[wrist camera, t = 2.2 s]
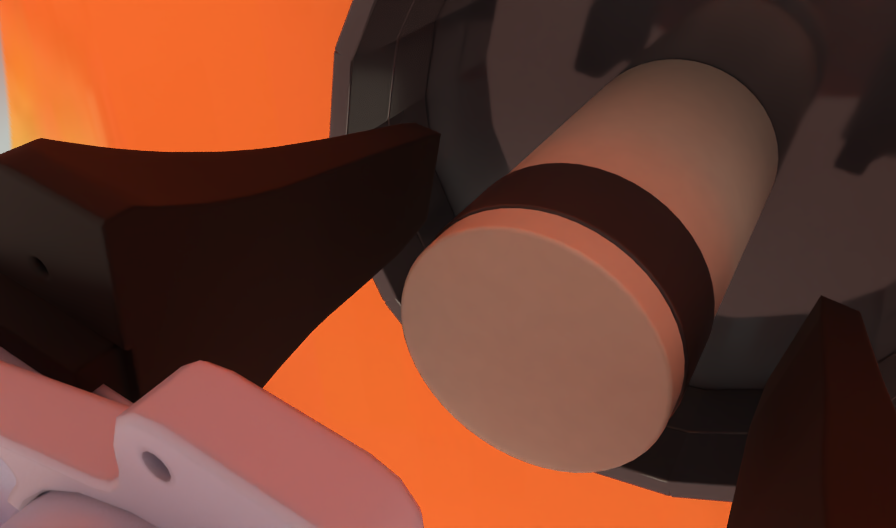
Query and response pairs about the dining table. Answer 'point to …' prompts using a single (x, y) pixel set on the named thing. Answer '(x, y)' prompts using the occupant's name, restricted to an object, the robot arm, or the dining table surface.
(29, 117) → the dining table surface
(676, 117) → the beige cylinder
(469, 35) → the pan
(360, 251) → the robot arm
